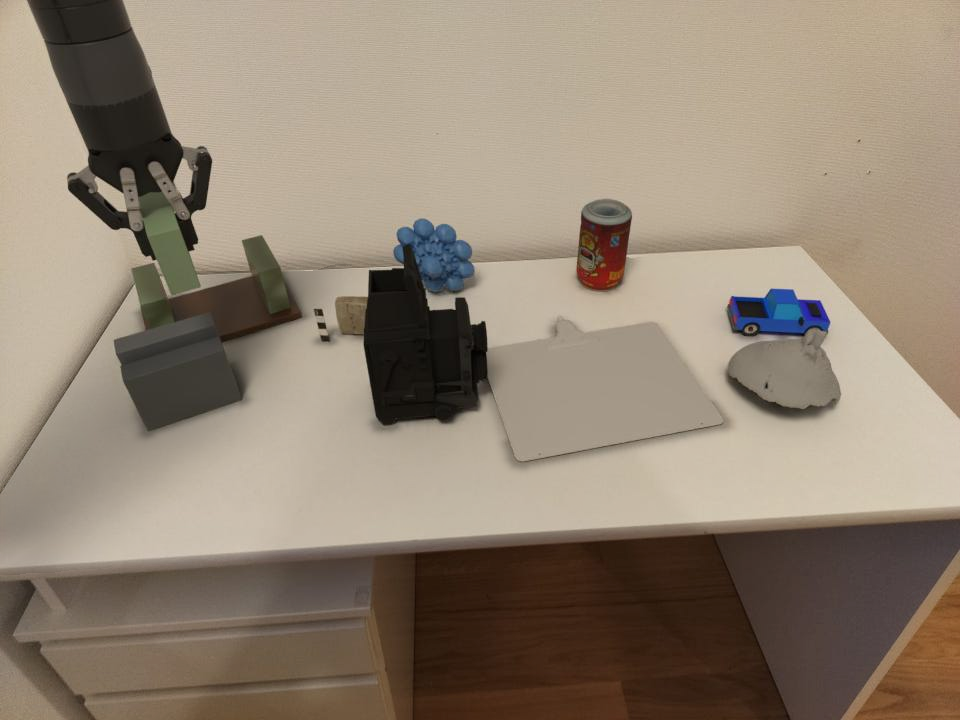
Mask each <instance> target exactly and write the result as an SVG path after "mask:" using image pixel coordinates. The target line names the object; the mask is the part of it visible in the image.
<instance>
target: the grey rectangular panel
mask: <svg viewBox="0 0 960 720" xmlns="http://www.w3.org/2000/svg"><path fill="white" fill-rule="evenodd" d="M554 329H555V331H556V336H553V337H548V338H540V339H535V340H529V341H528V340H527V341H523V342H517V343H516V342H515V343H511V344H504V345H498V346H497V345H496V346H491V347H488V350H487V352H486V355H487V369H488V375H487V381H488V383H489V386H490V389H491V391H492V394H493V397H494V400H495V403H496V406H497V409H498V411H499V414H500V417H501V420H502V423H503V426H504V429H505V433H506V436H507V437H508V440H509V444H510V446H511V449H512V452H513V455H514V459H516V460H517V461H518V462H528V461H534V460H539V459H545V458H550V457H554V456H555V457H556V456H559V455H566V454H570V453H577V452H581V451H582V452H583V451H586V450H593V449H597V448H602V447H609V446H614V445H618V444H623V443H629V442H634V441H639V440H644V439H651V438H656V437H661V436H665V435H671V434H672V435H673V434H677V433H682V432H688V431H693V430H698V429H704V428H708V427H715V426H720V425H722V424H723V423H724V418H723V416H722V415H721V413H720V412H719V411H718V409H717V408H716V407H715V405H714V404H713V402H712V400H711V399H710V398H709V396H708V395H707V393H706V392H705V390H704V389H703V387H702V386H701V384H700V383H699V382H698V381H697V379H696V377H695V376H694V374H693V373H692V371H691V370H690V369H689V367H688V366H687V364H686V363H685V361H684V360H683V358H682V357H681V356H680V354H679V353H678V351H677V350H676V348H675V347H674V345H673V344H672V342H671V341H670V340H669V338H668V337H667V335H666V334H665V333H664V330H663V329H662V328H661V326H660V325H659V324H658V322H655V321H647V322H641V323H635V324H629V325H623V326H622V325H621V326H617V327H610V328H604V329H603V328H602V329H598V330H597V329H596V330H590V331H585V332H584V331H581V330H580V329H578V328H577V327H576V326H575V325H574V323H573V322H572V321H571V320H569V319H564V317H563V315H559V316H558V317H557V319H556V323H555V324H554Z"/></svg>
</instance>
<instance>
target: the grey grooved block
mask: <svg viewBox="0 0 960 720" xmlns="http://www.w3.org/2000/svg"><path fill="white" fill-rule="evenodd" d="M113 346H114V350H115V351H114V352H115V354H116V357H117V359H118V361H119V363H120V366H119V367H120V373H121V378H122V383H123V384H124V386H125V388H126V391H127V392H128V394H129V396H130V398H131V401H132V402H133V405H134V406H135V408H136V410H137V412H138V415H139V416H140V418H141V420H142V423H143V425H144V426H145V428H146V429H145V430H147V432H151V431H153V430H157V429H159V428H162V427H165V426H168V425H171V424H175V423H177V422H181V421H183V420H186V419H189V418H193V417H195V416H198V415H201V414H203V413H206V412H209V411H210V412H211V411H212V410H213V411H214V410H215V409H219V408H221V407H224V406H227V405H230V404H233V403H236V402H240V401H242V396H241V392H240V390H239V387H238V384H237V382H236V379H235V375H234V373H233V370H232V367H231V364H230V361H229V358H228V356H227V353H226V350H225V348H224V344H223V342H221V339H220V337H219V334H218V332H217V329H216V326H215V323H214V321H213V318H212V315H211V313H210V312H208V313H205V314H202V315H198V316H195V317H191V318H188V319H184V320H181V321H177V322H174V323H170V324H167V325H163V326H160V327H156V328H153V329H149V330H146V329H145V330H143V331H140V332H139V331H138V332H136V333H131V334H129V335H126V336H123V337H117V338H115V339H113Z"/></svg>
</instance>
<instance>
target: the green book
mask: <svg viewBox="0 0 960 720" xmlns="http://www.w3.org/2000/svg"><path fill="white" fill-rule="evenodd" d="M138 198H139V203H140V209H141V215H142V220H143V222H144V226H145V230H146V234H147V237H148V240H149V242H150V245H151V247H152V249H153V252H154V254H155V257H156V259H157V260H156V261H157V264H158V267H159V269H160V271H161V274H162V276H163V279H164V281H165V283H166V287H167V288H168V291H169V293H170V296H175V295H178V294H181V293H186V292H189V291H192V290H196V289H200V288H201V287H202V285H201V283H200V280H199V277H198V274H197V271H196V268H195V265H194V262H193V259H192V255H191V254H190V251H189V252H188V249H187V246H186V243H185V241H184V238H183V235H182V233H181V230H180V227H179V225H178V222H177V219H176V216H175V211H174V209H173V208H172V206H171V204H170V203H169V202H168V200H167V199H166V197H165V195H164V194H163V192H150V193H148V194H146V195H144V196H141V197H138Z"/></svg>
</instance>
